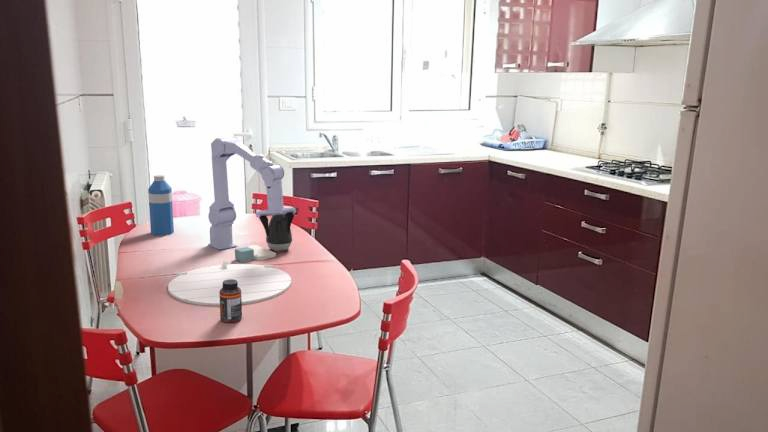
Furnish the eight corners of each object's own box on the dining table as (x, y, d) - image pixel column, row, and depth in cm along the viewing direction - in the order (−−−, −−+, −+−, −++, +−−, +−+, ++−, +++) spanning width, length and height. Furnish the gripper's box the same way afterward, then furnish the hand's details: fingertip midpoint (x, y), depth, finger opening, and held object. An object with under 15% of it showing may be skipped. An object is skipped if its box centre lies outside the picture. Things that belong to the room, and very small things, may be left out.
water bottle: (150, 231, 262) (146, 174, 256) (172, 229, 266) (169, 173, 260) (151, 236, 253) (148, 178, 248) (175, 234, 257) (171, 177, 252)
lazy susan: (166, 271, 210) (166, 262, 209) (278, 262, 223) (278, 253, 223) (170, 313, 173) (169, 302, 173) (303, 299, 187) (303, 288, 186)
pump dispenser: (279, 254, 232) (278, 216, 228) (260, 249, 238) (260, 212, 235) (297, 249, 240) (297, 212, 236) (279, 244, 246) (279, 208, 243)
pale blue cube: (235, 259, 224) (234, 248, 223) (246, 256, 228) (246, 246, 227) (242, 262, 221) (241, 251, 220) (253, 259, 224) (253, 249, 223)
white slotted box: (237, 251, 235) (237, 247, 234) (255, 248, 240) (255, 244, 240) (257, 260, 224) (257, 256, 224) (275, 256, 229) (275, 252, 229)
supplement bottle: (217, 317, 170) (216, 279, 167) (238, 313, 173) (236, 276, 171) (224, 325, 165) (222, 286, 163) (245, 321, 168) (244, 282, 166)
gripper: (257, 201, 215) (260, 238, 217) (297, 197, 220) (299, 233, 223) (253, 199, 221) (256, 235, 223) (291, 195, 227) (294, 230, 229)
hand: (278, 234), depth 223 cm, fingers open, 7 cm apart
